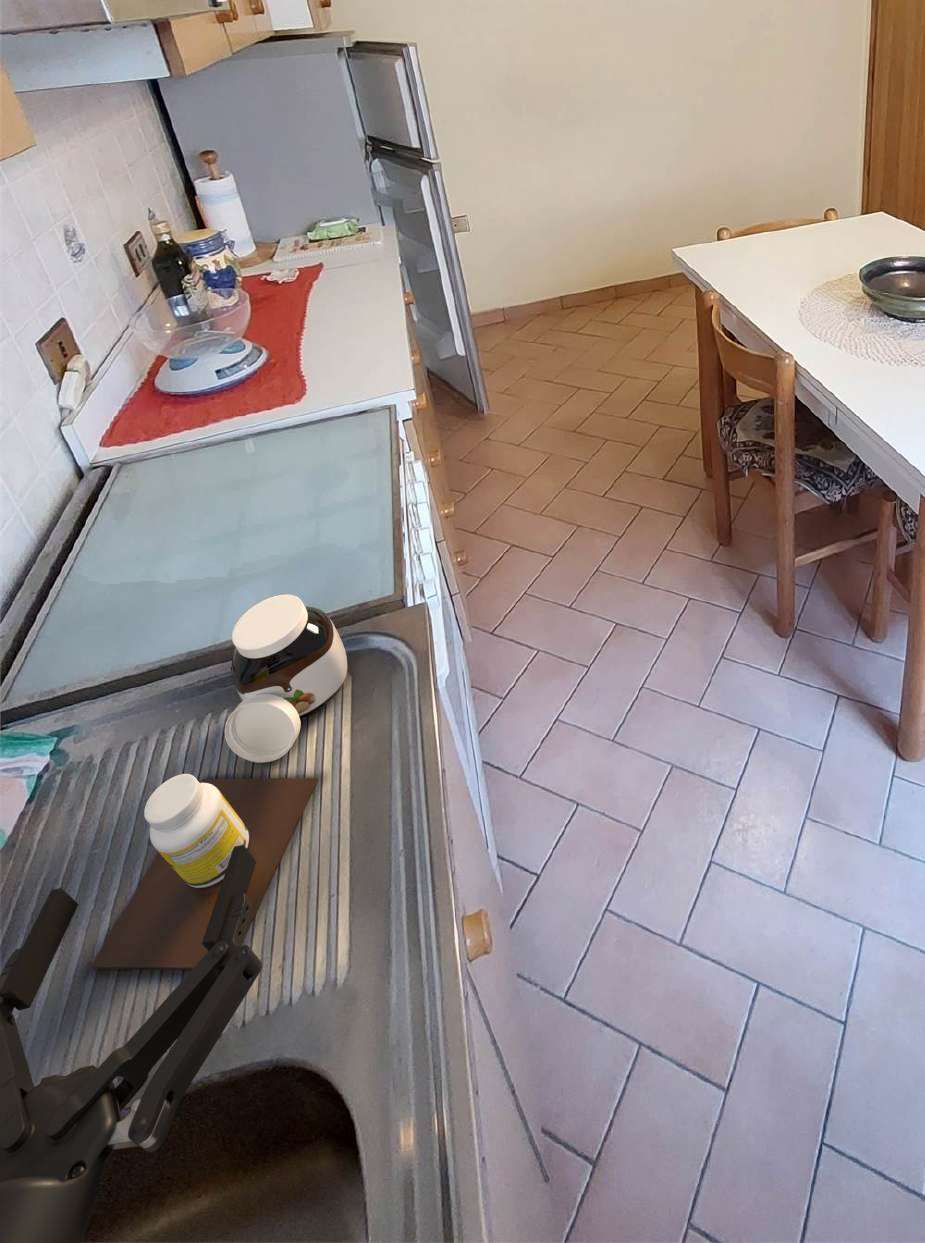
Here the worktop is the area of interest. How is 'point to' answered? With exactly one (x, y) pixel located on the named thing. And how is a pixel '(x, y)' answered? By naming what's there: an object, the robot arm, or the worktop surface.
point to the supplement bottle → (194, 829)
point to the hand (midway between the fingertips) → (156, 875)
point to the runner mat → (178, 913)
